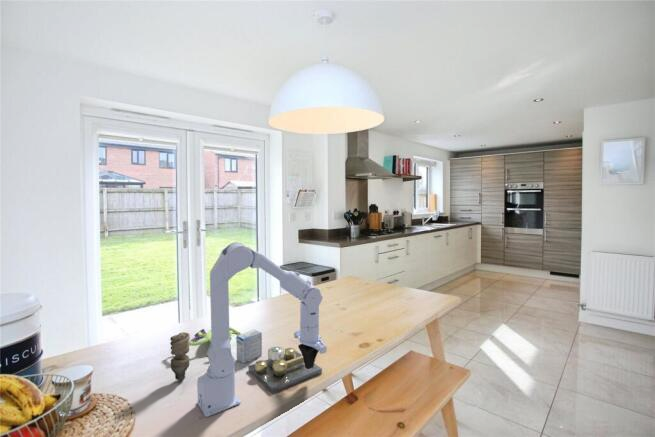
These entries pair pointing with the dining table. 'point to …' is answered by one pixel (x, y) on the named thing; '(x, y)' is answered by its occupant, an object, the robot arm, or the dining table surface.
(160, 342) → the dining table surface
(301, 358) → the brass lever handle
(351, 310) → the dining table surface
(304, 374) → the levelling base
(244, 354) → the medicine box
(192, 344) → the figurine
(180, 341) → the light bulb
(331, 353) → the dining table surface
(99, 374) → the dining table surface
